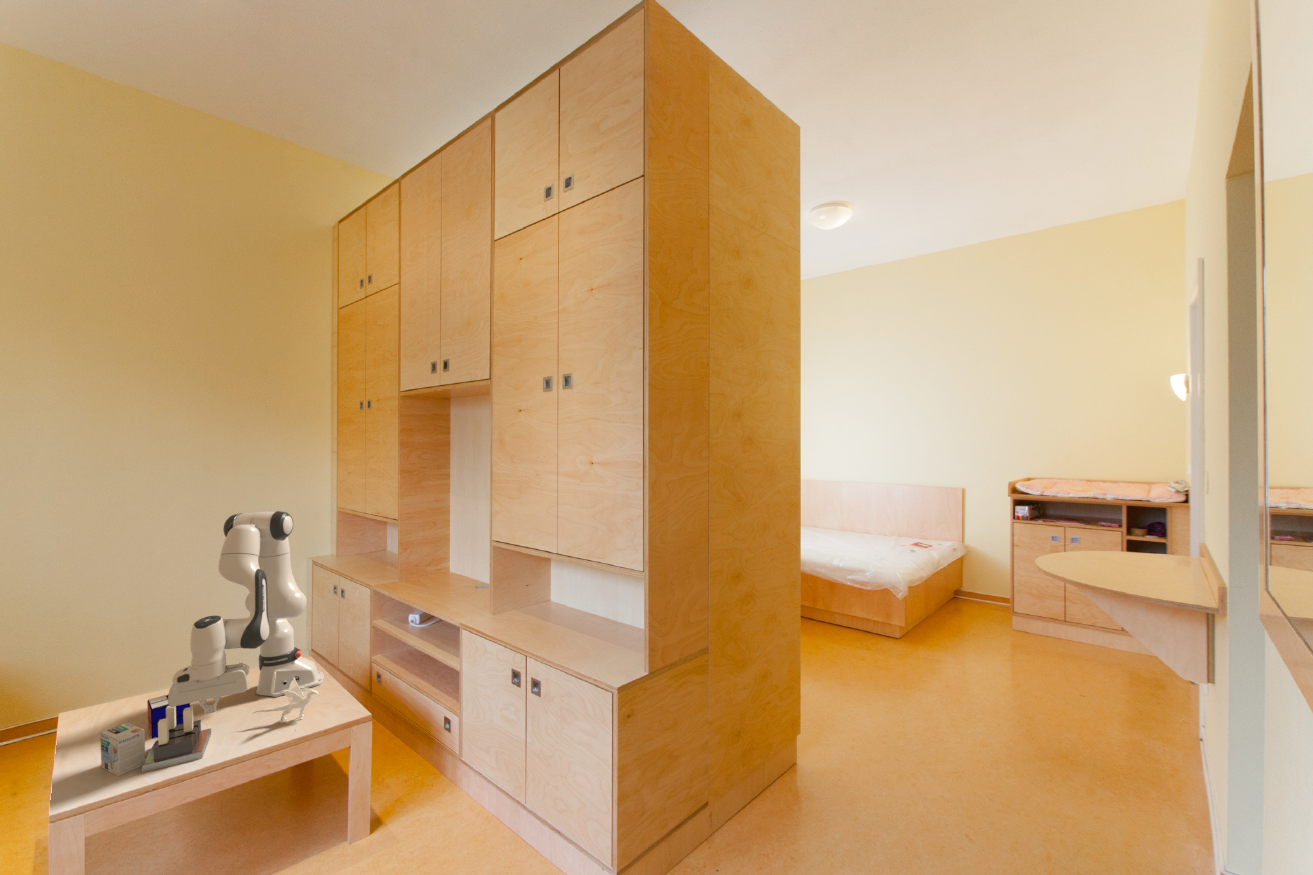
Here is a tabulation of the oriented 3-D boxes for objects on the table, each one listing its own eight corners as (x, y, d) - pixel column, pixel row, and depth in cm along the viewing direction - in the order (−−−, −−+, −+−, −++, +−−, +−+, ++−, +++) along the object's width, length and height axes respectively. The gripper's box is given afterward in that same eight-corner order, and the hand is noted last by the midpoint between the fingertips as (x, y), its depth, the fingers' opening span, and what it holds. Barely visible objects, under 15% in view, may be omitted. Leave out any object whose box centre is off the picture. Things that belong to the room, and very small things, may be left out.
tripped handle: (193, 727, 180) (192, 706, 179) (191, 730, 177) (191, 709, 177) (185, 729, 178) (184, 708, 178) (183, 732, 176) (183, 711, 176)
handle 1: (169, 739, 173) (168, 717, 172) (167, 743, 171) (166, 721, 170) (160, 741, 172) (159, 719, 171) (158, 745, 170) (157, 723, 169)
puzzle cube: (151, 739, 185) (150, 709, 184) (147, 728, 191) (147, 699, 191) (191, 727, 192) (190, 698, 192) (185, 717, 199) (185, 689, 199)
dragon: (316, 722, 194) (315, 685, 193) (246, 734, 186) (245, 696, 186) (322, 707, 204) (321, 672, 204) (256, 718, 197) (255, 681, 197)
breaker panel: (211, 733, 187) (210, 716, 187) (202, 757, 173) (201, 738, 173) (155, 746, 180) (155, 728, 180) (142, 772, 166) (141, 752, 166)
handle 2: (176, 724, 181) (175, 704, 181) (174, 728, 179) (174, 707, 179) (168, 726, 180) (167, 705, 180) (166, 730, 178) (165, 709, 178)
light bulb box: (100, 767, 169) (99, 732, 169) (128, 755, 175) (127, 721, 175) (118, 776, 165) (117, 740, 164) (146, 764, 171) (145, 728, 171)
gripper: (249, 658, 188) (251, 699, 189) (170, 672, 178) (171, 715, 178) (247, 664, 183) (248, 707, 183) (165, 680, 173) (167, 724, 173)
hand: (210, 711), depth 181 cm, fingers closed
